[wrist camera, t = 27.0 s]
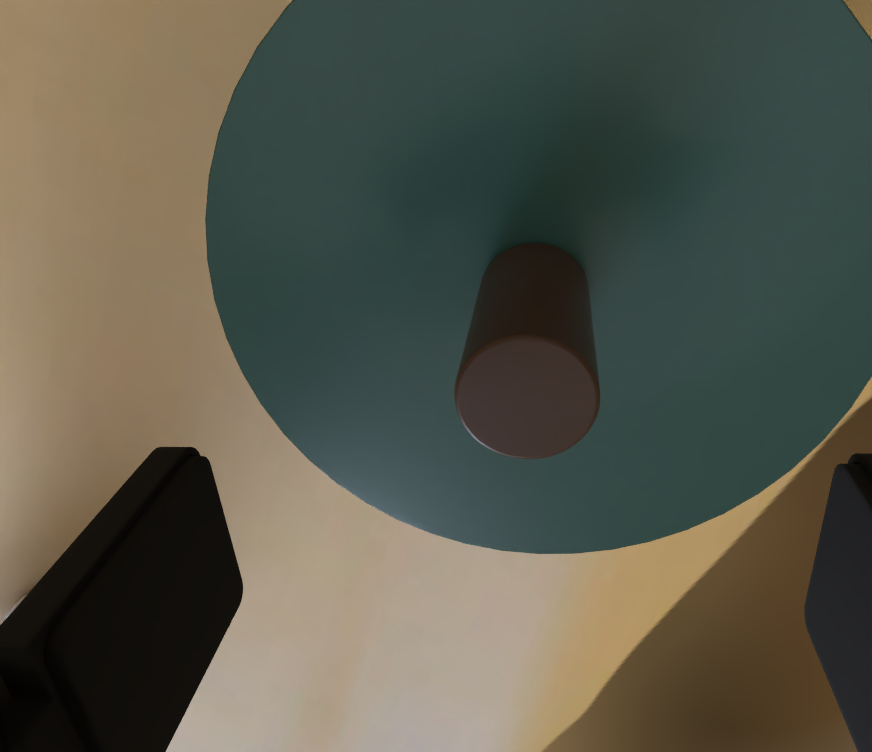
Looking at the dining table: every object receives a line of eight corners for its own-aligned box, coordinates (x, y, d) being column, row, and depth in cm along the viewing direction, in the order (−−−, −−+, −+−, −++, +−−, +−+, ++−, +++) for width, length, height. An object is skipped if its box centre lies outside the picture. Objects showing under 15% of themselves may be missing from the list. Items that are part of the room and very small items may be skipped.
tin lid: (285, 520, 25) (203, 681, 19) (149, -70, 17) (-69, -101, 11) (826, 539, 22) (923, 737, 16) (991, -168, 14) (1313, -284, 8)
